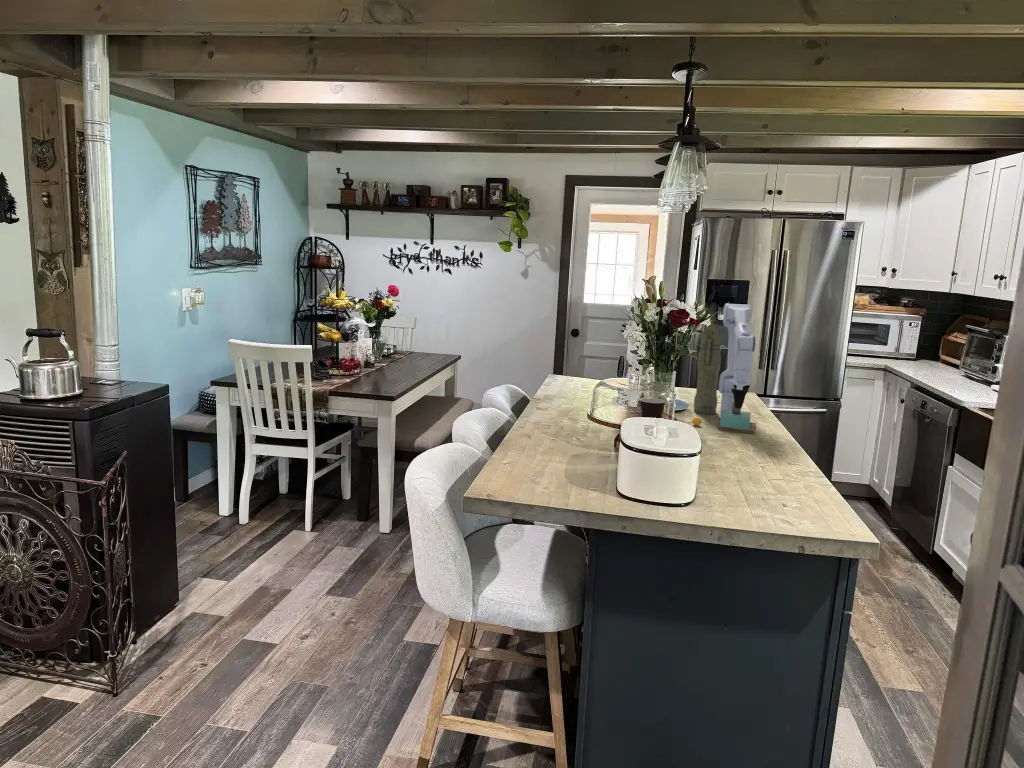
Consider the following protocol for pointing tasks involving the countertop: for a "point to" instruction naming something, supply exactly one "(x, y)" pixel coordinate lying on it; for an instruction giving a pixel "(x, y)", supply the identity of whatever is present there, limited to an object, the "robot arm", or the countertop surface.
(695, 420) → the ball
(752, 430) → the walnut board
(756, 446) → the countertop surface
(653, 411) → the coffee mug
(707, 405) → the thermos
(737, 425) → the cover
